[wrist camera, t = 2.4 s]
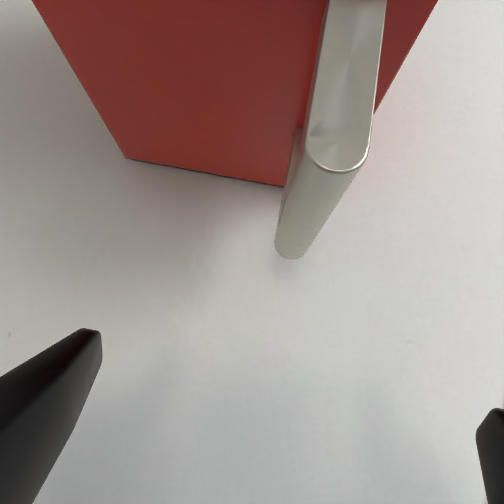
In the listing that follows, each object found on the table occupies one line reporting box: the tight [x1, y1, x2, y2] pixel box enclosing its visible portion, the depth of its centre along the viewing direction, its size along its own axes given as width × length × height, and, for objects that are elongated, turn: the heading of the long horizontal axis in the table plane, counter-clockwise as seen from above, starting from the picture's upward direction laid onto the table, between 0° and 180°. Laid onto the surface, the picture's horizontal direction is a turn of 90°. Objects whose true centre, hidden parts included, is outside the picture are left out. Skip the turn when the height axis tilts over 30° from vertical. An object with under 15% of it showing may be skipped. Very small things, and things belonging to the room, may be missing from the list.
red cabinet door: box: [32, 0, 438, 259], centre depth 15 cm, size 6×12×13 cm, turn 79°
